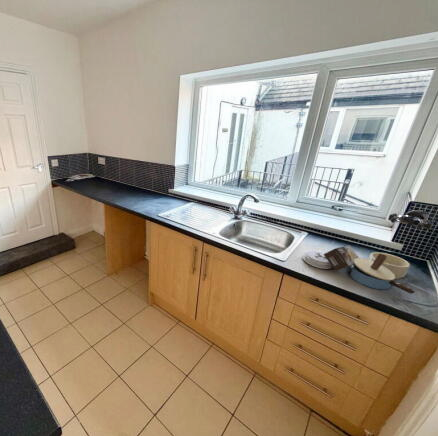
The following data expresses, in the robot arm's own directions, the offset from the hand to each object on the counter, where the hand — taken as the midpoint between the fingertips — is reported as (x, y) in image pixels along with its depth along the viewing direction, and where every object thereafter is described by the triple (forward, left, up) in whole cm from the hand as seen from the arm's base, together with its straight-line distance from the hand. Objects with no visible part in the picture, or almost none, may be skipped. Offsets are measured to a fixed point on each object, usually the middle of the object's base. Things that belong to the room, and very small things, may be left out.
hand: (405, 223), depth 111 cm
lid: (+15, +29, -24) cm, 40 cm away
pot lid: (-3, +21, -18) cm, 28 cm away
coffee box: (+9, +16, -19) cm, 26 cm away
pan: (-7, +20, -24) cm, 32 cm away
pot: (-1, +4, -24) cm, 24 cm away
